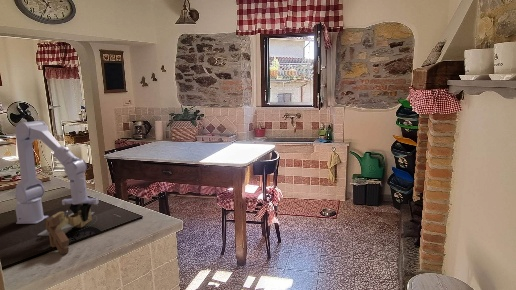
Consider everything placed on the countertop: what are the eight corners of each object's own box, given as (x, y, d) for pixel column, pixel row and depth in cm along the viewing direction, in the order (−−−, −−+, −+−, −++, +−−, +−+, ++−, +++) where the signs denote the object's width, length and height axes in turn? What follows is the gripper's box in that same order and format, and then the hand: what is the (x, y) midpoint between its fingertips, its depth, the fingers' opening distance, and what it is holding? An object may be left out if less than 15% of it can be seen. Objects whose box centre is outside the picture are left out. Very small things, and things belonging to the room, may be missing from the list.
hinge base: (57, 232, 138) (54, 217, 137) (49, 232, 138) (47, 217, 137) (74, 221, 149) (72, 207, 148) (66, 221, 149) (64, 207, 148)
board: (62, 235, 136) (61, 234, 135) (37, 235, 136) (37, 234, 136) (94, 213, 159) (94, 212, 159) (73, 213, 160) (73, 212, 160)
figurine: (60, 263, 121) (45, 237, 130) (68, 261, 123) (52, 235, 131) (61, 234, 116) (45, 208, 124) (69, 232, 117) (52, 207, 126)
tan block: (77, 231, 138) (75, 217, 137) (68, 231, 139) (66, 217, 138) (93, 220, 150) (92, 206, 149) (85, 220, 151) (83, 206, 150)
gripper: (55, 192, 140) (60, 224, 142) (90, 192, 139) (94, 224, 141) (66, 187, 147) (70, 218, 149) (99, 186, 145) (103, 217, 148)
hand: (82, 220), depth 145 cm, fingers closed on tan block, 2 cm apart
